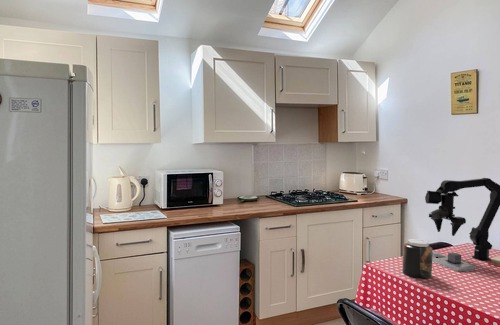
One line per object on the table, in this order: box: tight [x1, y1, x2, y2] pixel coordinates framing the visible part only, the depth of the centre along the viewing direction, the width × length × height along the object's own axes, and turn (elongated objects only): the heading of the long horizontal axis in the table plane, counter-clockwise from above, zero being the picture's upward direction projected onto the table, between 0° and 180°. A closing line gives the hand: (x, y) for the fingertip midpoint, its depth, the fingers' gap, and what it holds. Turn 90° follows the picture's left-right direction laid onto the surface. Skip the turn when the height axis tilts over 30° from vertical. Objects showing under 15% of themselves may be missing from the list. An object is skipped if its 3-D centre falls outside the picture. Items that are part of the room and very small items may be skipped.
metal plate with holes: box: [432, 250, 476, 273], centre depth 178 cm, size 10×24×2 cm, turn 18°
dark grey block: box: [447, 252, 462, 264], centre depth 173 cm, size 4×4×6 cm
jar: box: [402, 238, 433, 280], centre depth 160 cm, size 12×12×15 cm
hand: (445, 233), depth 189 cm, fingers open, 9 cm apart
